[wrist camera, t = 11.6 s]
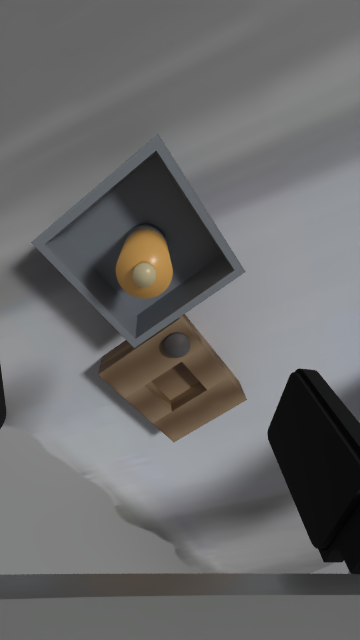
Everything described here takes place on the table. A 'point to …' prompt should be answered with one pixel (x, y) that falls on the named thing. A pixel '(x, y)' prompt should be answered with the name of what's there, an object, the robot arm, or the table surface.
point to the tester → (173, 379)
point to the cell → (144, 262)
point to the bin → (110, 233)
